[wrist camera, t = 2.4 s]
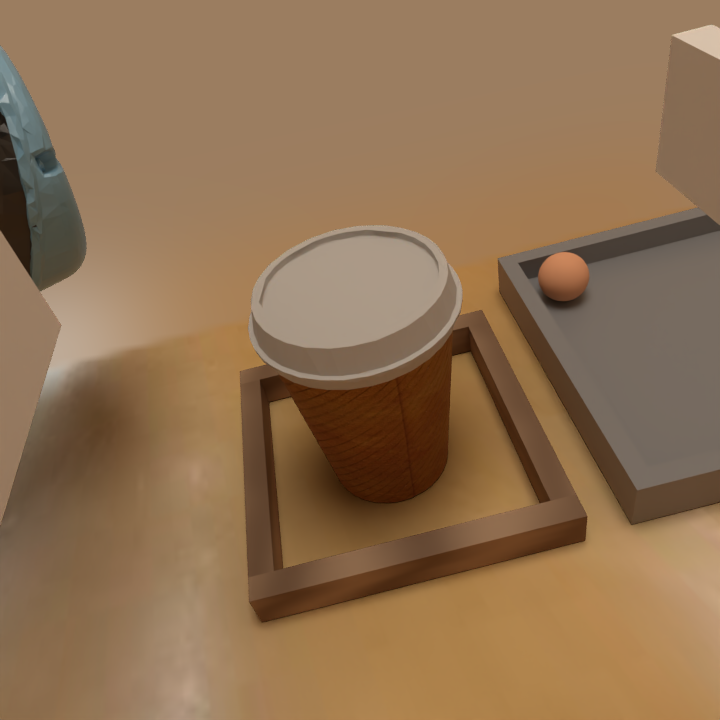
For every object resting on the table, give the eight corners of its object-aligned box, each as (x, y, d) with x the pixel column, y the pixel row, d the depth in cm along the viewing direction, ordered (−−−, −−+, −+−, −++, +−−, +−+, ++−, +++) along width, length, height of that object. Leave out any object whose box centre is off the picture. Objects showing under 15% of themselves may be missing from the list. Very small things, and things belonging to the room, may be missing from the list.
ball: (548, 316, 40) (549, 276, 38) (531, 288, 42) (530, 249, 40) (596, 304, 40) (599, 264, 38) (576, 276, 42) (578, 237, 40)
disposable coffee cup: (316, 398, 40) (261, 232, 32) (473, 386, 38) (455, 208, 30) (294, 535, 33) (217, 367, 25) (484, 527, 32) (465, 345, 24)
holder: (262, 622, 30) (249, 601, 29) (249, 393, 42) (239, 371, 40) (585, 540, 30) (587, 516, 29) (483, 334, 42) (481, 309, 40)
